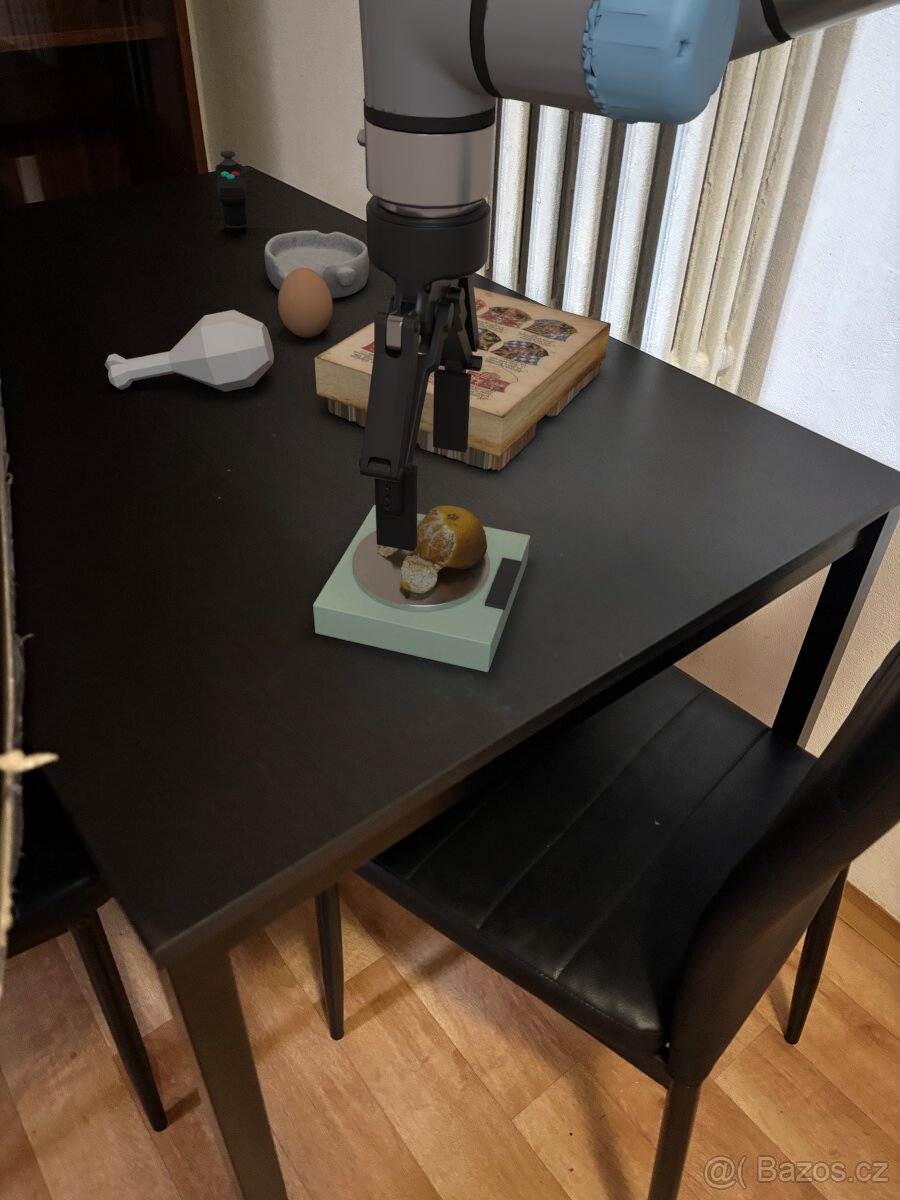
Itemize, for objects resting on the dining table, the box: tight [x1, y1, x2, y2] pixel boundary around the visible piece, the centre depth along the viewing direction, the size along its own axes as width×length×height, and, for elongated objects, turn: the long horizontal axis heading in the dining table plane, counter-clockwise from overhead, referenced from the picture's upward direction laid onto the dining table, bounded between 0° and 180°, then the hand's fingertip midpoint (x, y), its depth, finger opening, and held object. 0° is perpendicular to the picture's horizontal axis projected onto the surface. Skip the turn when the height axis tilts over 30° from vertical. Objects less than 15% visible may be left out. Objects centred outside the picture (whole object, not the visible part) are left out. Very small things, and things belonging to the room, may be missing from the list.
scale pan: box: [352, 520, 490, 611], centre depth 73 cm, size 11×11×1 cm
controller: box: [214, 150, 248, 231], centre depth 134 cm, size 4×12×10 cm, turn 12°
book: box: [314, 286, 612, 472], centre depth 101 cm, size 25×6×28 cm
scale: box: [312, 504, 531, 673], centre depth 74 cm, size 14×14×3 cm
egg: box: [277, 268, 334, 339], centre depth 108 cm, size 6×6×8 cm
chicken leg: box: [104, 309, 275, 393], centre depth 98 cm, size 8×18×8 cm, turn 95°
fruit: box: [377, 505, 487, 594], centre depth 72 cm, size 8×8×4 cm
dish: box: [264, 229, 370, 299], centre depth 122 cm, size 14×14×5 cm
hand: (425, 493), depth 68 cm, fingers open, 13 cm apart
